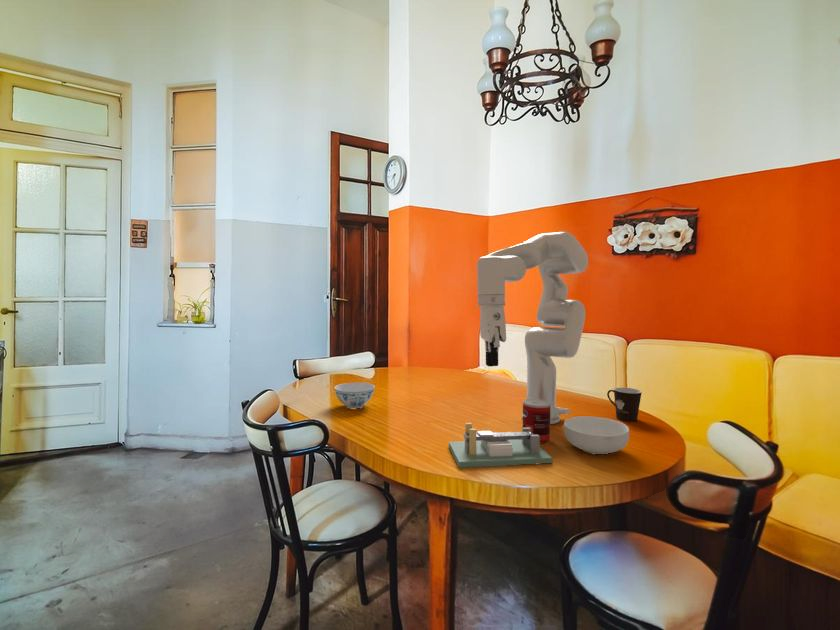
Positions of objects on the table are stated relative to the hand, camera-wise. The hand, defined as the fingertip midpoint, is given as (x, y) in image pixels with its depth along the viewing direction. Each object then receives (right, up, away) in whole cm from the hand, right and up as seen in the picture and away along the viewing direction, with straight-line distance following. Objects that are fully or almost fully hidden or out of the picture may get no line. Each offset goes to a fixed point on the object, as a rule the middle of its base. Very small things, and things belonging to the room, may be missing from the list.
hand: (492, 365), depth 117 cm
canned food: (+14, -23, +6) cm, 27 cm away
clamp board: (0, -23, -7) cm, 24 cm away
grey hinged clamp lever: (+1, -19, -7) cm, 20 cm away
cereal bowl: (+28, -23, -3) cm, 37 cm away
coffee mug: (+51, -22, +27) cm, 62 cm away
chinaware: (-45, -21, +39) cm, 63 cm away
